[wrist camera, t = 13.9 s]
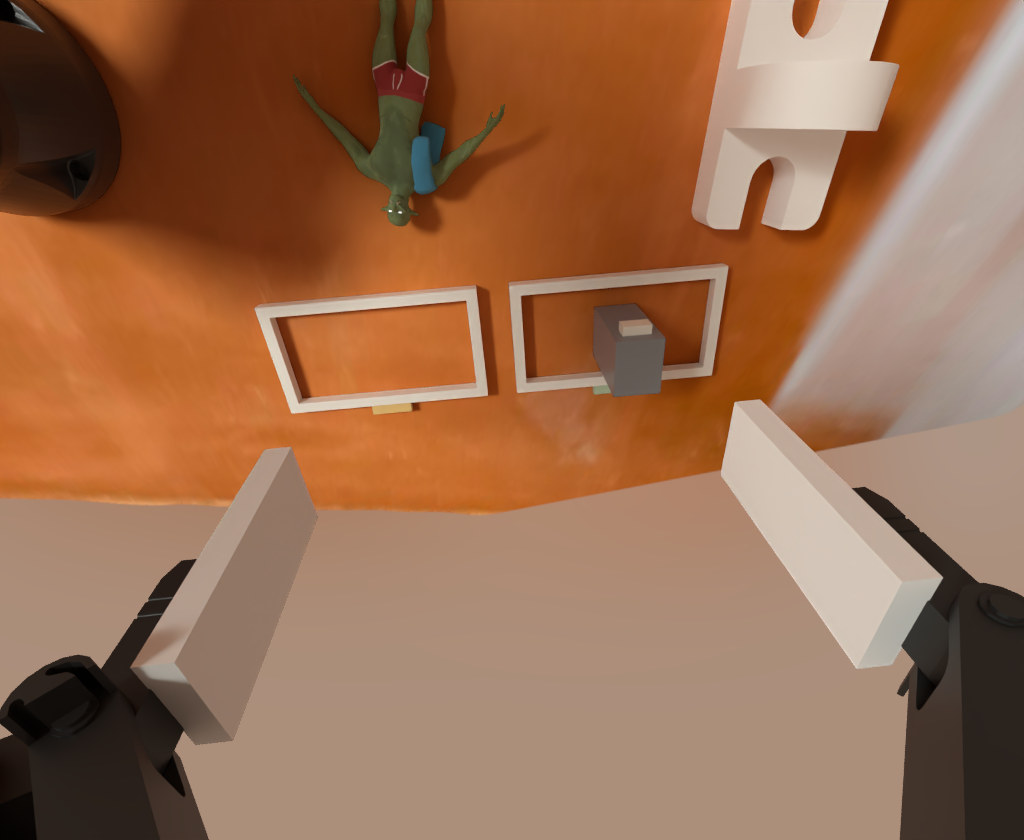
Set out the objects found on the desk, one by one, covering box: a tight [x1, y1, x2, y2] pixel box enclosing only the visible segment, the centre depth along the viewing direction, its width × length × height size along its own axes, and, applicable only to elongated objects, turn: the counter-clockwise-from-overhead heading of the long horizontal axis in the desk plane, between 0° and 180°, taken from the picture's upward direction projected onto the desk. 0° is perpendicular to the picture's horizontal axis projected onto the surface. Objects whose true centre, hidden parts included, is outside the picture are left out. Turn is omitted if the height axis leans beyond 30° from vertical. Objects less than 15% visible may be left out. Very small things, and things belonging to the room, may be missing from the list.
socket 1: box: [254, 285, 488, 414], centre depth 48 cm, size 20×12×1 cm, turn 94°
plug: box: [593, 303, 666, 397], centre depth 44 cm, size 4×6×9 cm
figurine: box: [293, 0, 505, 226], centre depth 36 cm, size 16×4×18 cm
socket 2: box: [508, 263, 729, 395], centre depth 48 cm, size 20×12×1 cm, turn 94°
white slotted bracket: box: [692, 0, 899, 230], centre depth 35 cm, size 10×18×10 cm, turn 179°
